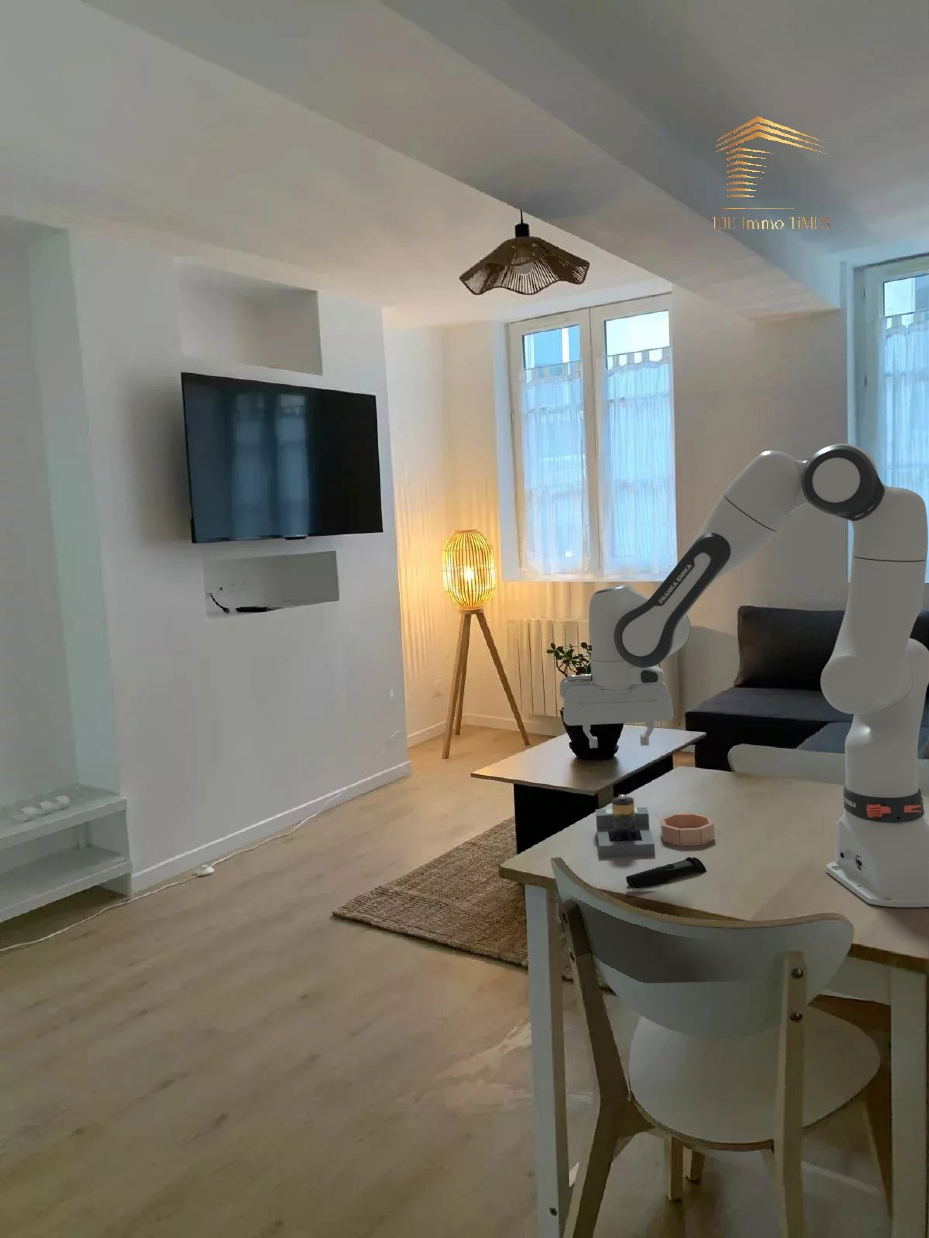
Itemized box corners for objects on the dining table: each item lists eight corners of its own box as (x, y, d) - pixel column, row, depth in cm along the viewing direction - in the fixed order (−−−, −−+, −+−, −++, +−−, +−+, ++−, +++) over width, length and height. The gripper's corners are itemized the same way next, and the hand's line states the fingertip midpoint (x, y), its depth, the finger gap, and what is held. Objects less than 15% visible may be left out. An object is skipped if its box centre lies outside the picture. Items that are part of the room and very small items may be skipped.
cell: (637, 849, 175) (634, 798, 174) (615, 850, 175) (612, 799, 174) (635, 841, 179) (632, 791, 178) (613, 842, 179) (610, 792, 178)
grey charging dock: (655, 857, 172) (653, 829, 171) (600, 859, 173) (598, 831, 172) (647, 831, 185) (646, 806, 185) (597, 833, 187) (595, 808, 186)
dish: (717, 846, 175) (716, 828, 174) (664, 848, 176) (663, 830, 175) (708, 829, 184) (708, 812, 184) (659, 831, 185) (658, 814, 185)
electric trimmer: (621, 890, 159) (620, 872, 159) (694, 868, 165) (693, 851, 165) (634, 897, 156) (633, 879, 155) (708, 875, 162) (707, 857, 162)
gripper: (559, 678, 172) (563, 752, 173) (672, 673, 170) (675, 748, 171) (559, 673, 178) (563, 744, 179) (668, 667, 176) (671, 739, 177)
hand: (619, 746), depth 175 cm, fingers open, 8 cm apart
